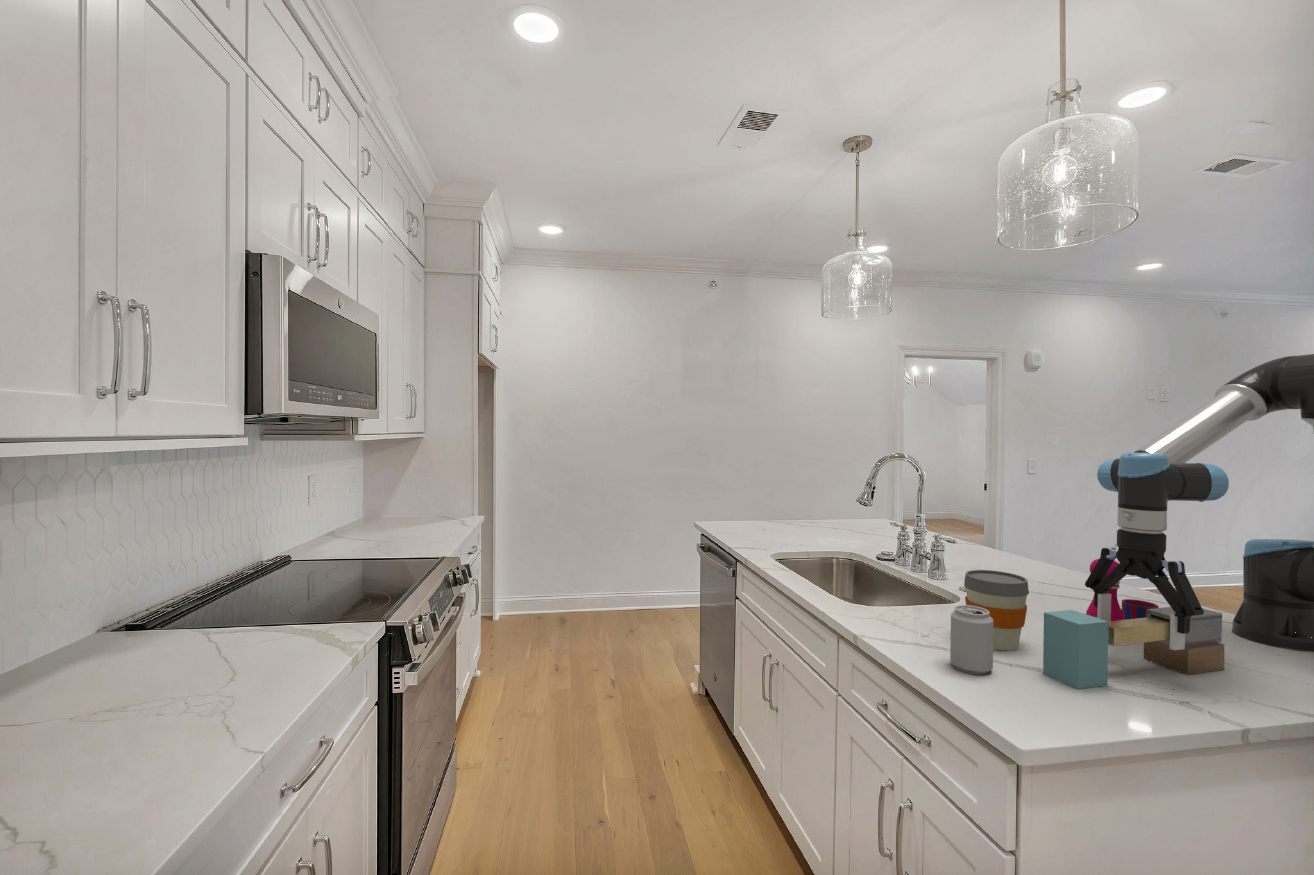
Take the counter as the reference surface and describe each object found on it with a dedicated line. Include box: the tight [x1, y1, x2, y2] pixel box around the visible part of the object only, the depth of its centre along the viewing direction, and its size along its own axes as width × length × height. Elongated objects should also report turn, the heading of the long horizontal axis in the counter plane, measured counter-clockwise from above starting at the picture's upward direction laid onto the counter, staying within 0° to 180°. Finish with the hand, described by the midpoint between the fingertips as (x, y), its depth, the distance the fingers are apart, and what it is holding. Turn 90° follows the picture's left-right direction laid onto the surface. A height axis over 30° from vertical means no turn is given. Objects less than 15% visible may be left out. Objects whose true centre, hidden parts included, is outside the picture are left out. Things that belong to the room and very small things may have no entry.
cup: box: [1121, 598, 1160, 620], centre depth 134 cm, size 7×10×7 cm
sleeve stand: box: [1143, 606, 1225, 676], centre depth 116 cm, size 12×8×11 cm, turn 105°
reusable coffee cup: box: [963, 569, 1030, 651], centre depth 128 cm, size 13×13×15 cm
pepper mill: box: [1085, 558, 1125, 621], centre depth 131 cm, size 7×7×20 cm
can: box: [949, 604, 994, 675], centre depth 114 cm, size 8×8×12 cm
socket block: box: [1042, 609, 1109, 690], centre depth 109 cm, size 7×7×12 cm
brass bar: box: [1108, 616, 1170, 647], centre depth 115 cm, size 28×3×3 cm, turn 105°
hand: (1138, 636), depth 113 cm, fingers open, 13 cm apart
